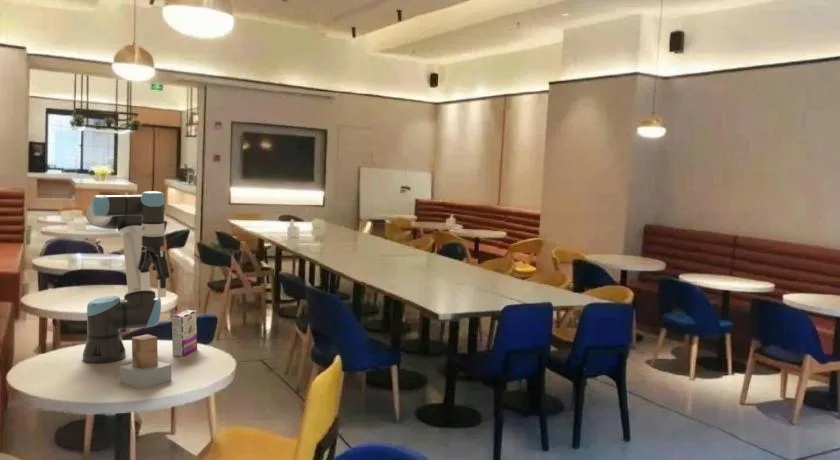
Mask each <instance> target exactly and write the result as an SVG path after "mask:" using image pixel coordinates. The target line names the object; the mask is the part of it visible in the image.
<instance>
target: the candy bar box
mask: <svg viewBox="0 0 840 460" xmlns="http://www.w3.org/2000/svg"><path fill="white" fill-rule="evenodd" d="M197 315H198V314H197V310H191V309H186V310H183V311H181V312H179V313H176V314H174V315H172V316H171V331H172V332H171V337H172V338H171V341H172V344H171V345H172V356H173V357H181V358H184V357H185V356H188V355H190V354H191V353H193V352H195V351H197V350H198V329H197V328H198V323H197V322H198V321H197V318H198V317H197Z"/></svg>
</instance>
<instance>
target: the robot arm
mask: <svg viewBox="0 0 840 460" xmlns="http://www.w3.org/2000/svg"><path fill="white" fill-rule="evenodd" d="M165 204H166V203H165V196H164V193H163V192H162V191H156V190H155V191H153V190H151V191H142V193H141V194H124V195H122V194H121V195H120V194H119V195H118V194H117V195H115V194H112V195H111V194H108V195H106V194H100V195H99V194H96V195H93V196H92V199H91V203H90V204H89V205H88V206H87V208H86V210H85V219H86V220H87V222H89V224H91V225H93V226H94V227H97V228H100V229H104V230H117V234H118V235H119V236H121V237H122V242H123V243H122V244H123V254H124V264H125V274H126V275H125V277H126V286H127V292H126V293H125V294H124V295H123V297H124V299H121V298H120V296H118V295H108V296H103V297H98V298H94V299H92V300H90V301H89V302H88V303H87V305H86V316H87V318H86V319H87V320H86V321H87V322H86V323H87V325H86V327H87V329H86V331H87V332H86V333H87V339H86V342H85V346H84V349H83V352H82V361H84V362H86V363H90V364H91V363H92V364H104V363H105V364H106V363H111V362H116V361H120V360H122V359H124V358H126V354H127V353H126V352H127V351H126V348H125V345H124V342H123V340H122V338H121V331H123V330H131V329H132V330H133V329H144V328H145V329H147V328H150V327H151V328H152V327H155V326H157V325H158V324H159V322H160V318H161V312H162V311H161V310H162V299H161V298H166V297H167V279H169V278H170V273H169V268H168V263H167V259H166V251H165V250H161V247H164V246H165V235H164V234H165ZM151 264H153V265H154V269H155V271H156V274H157V279H156V280H157V296H156V292H155V290H153V289H152V288H151V280H150V279H151V278H150V267H151Z"/></svg>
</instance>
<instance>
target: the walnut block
mask: <svg viewBox="0 0 840 460" xmlns="http://www.w3.org/2000/svg"><path fill="white" fill-rule="evenodd" d="M158 353H159V351H158V336H156V335H152V334H148V333H147V334H142V335H137V336H132V337H131V355H132V356H131V358H132V359H131V363H132V366H135V367H138V368H141V369H143V368H147V367H151V366H155V365H158V361H159V359H158V357H159V356H158V355H159V354H158Z"/></svg>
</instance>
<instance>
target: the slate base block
mask: <svg viewBox="0 0 840 460" xmlns="http://www.w3.org/2000/svg"><path fill="white" fill-rule="evenodd" d="M169 381H172V363H167V362H164V361H160V360H158V365H155V366H151V367H147V368H143V369H141V368H138V367H135V366H132V362H131V363H127V364H124V365H121V366H119V383H120V384H124V385H127V386H131V387H133V388H136V389H140V390H145V389H148V388H151V387H154V386H157V385H161V384H163V383H167V382H169Z"/></svg>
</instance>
